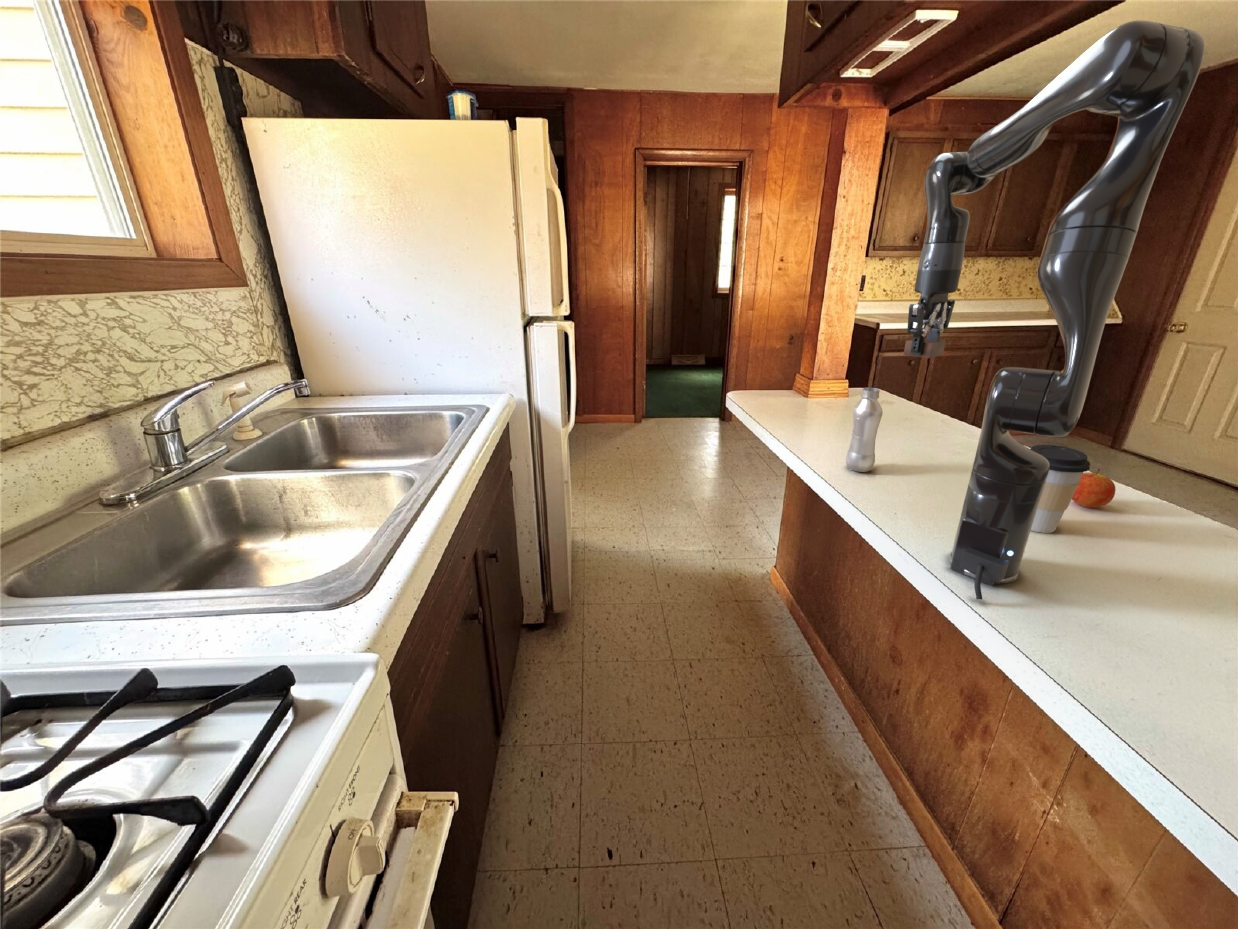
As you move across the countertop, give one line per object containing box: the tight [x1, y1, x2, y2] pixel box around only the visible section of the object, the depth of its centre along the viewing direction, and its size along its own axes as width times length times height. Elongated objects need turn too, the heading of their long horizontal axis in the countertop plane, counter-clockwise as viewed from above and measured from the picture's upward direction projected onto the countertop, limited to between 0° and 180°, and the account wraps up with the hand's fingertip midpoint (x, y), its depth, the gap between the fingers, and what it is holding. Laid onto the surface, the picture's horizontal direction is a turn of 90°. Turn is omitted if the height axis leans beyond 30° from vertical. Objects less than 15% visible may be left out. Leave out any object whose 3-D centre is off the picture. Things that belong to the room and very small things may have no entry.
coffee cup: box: [1030, 444, 1091, 534], centre depth 94 cm, size 9×9×15 cm
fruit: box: [1071, 468, 1116, 509], centre depth 102 cm, size 7×7×8 cm
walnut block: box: [903, 337, 947, 359], centre depth 108 cm, size 6×6×3 cm
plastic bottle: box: [845, 387, 883, 473], centre depth 121 cm, size 6×7×20 cm
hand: (923, 352), depth 108 cm, fingers closed on walnut block, 5 cm apart
